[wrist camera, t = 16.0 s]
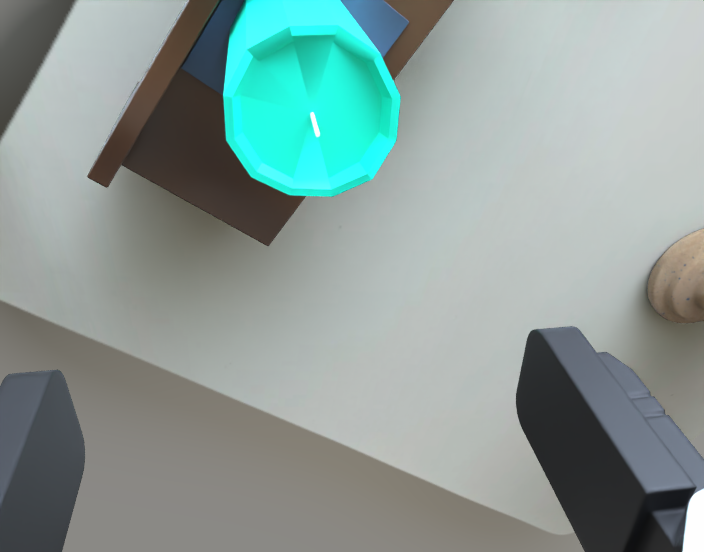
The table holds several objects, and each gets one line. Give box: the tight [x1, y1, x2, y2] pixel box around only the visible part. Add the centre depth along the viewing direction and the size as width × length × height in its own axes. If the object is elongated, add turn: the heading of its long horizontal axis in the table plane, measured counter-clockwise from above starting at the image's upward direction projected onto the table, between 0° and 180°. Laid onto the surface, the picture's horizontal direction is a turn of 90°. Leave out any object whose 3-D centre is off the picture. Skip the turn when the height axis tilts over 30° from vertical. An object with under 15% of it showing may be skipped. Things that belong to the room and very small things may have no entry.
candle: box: [223, 0, 401, 197], centre depth 24 cm, size 6×6×12 cm
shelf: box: [87, 0, 454, 246], centre depth 31 cm, size 20×10×10 cm, turn 143°
